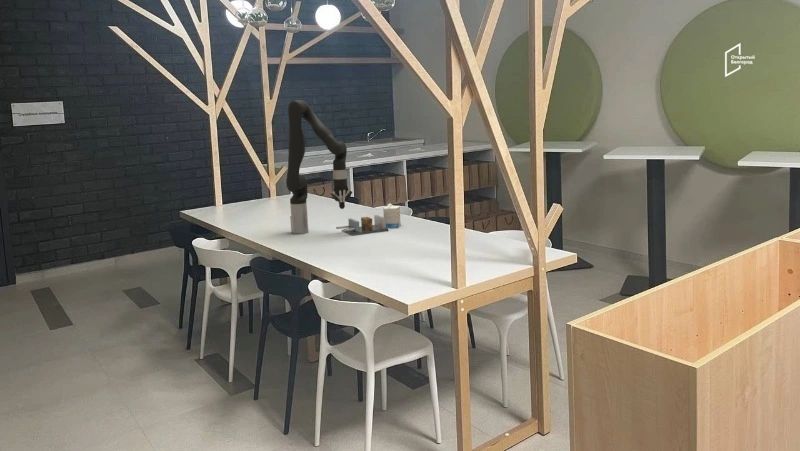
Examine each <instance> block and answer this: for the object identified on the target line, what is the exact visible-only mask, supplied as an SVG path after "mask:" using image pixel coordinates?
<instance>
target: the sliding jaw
mask: <svg viewBox="0 0 800 451" xmlns="http://www.w3.org/2000/svg"><path fill="white" fill-rule="evenodd" d="M347 222H348V225H342V226H341V225H340V226H336V227H335V229H336V230H339V229H341V233H342V232H344V233H346V232H345V231H352V230H354V231H356V232H357V231H360V227H361V226H360V221H359V220H357V219H354V218H352V217H351V218H348V221H347ZM346 228H350V229H346Z"/></svg>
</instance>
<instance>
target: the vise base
mask: <svg viewBox="0 0 800 451" xmlns="http://www.w3.org/2000/svg"><path fill="white" fill-rule="evenodd" d="M373 218H374V219H373V220H374V221H373V222H374V224H372V226H373V229H369V230H365V229H363V228H362V226H359V227H360V231H357V232H356V231H354V230H352V231H345V232H344V233H346V234H347V235H350V236H354V237H355V236H360V235H367V234H368V235H369V234H375V233H383V232H389V228H386V218H384V216H381V215H378V214H376V215H373ZM345 229H350V228H345Z"/></svg>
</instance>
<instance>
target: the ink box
mask: <svg viewBox="0 0 800 451" xmlns="http://www.w3.org/2000/svg"><path fill="white" fill-rule="evenodd" d="M382 210H383V213H382V214H383V217H384V218H386V228H388V229H398V228H400V226H401V225H402V222H401V207H400V205H393V204H392V203H388V204H387V205H386V206H385V207H383V209H382Z"/></svg>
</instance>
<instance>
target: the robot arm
mask: <svg viewBox="0 0 800 451" xmlns="http://www.w3.org/2000/svg"><path fill="white" fill-rule="evenodd" d="M287 113H288V115H287V116H288V156H287V158H288V160H287V172H286V182H285V184H286V188H287V190H288V191H289V192H291V193H293V194H292V196H291V197H290V199H289V205H290V217H289V218H290V232H291V233H292V234H293V235H301V234H306V233H309V220H308V206H307V205H308V204H307V202H308V201H307V199H308V181H307V178H306V177H305V175H303V174H300V169H301V165H302V162H303V160H304V157H305V153H306V140H305V134H304V132H303V127H302V121H303V120H302V119H304V120H305V121H306V122H307V123H308V124H309V126H310V127H311V128H312V131H313V133H314V134H315V135H316V137H318V139H320V140H321V141H322V142H323V143H324V145H325V146H326V148H327V150H328V151H329V153H331V154H333V156H334V159H333V161H332V171H333V172H332V174H333V175H332V178H333V190H332V191H331V192H330V193H329V195H330V197H332V198H333V200H334V201H335V202H338V208H339V209H341V210H344V208H346V205H345V204H346V201H348V200H349V198H350V197H351V195H352V194H353V191H352V190H350V189H349V187H348V174H347V165H346V160H347V153H348V151H347V150H348V148H347V144H346V143H345V142H344V141H341V140H340V141H338V140H337V139H335V135H334V133H333V132H332V131H331V129H329V128H328V127H327V126H326V125H325V124H324V123H323V122H322V121H321V120H320V119H319V117H318V116H317V115H316V114H315V112H314V111H313V109H312V108H311V107H310V105H309V104H308V103H307V102H306V100H303V99H296V100H295V99H294V100H292V101H290V103H289V104H288V107H287Z"/></svg>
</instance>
